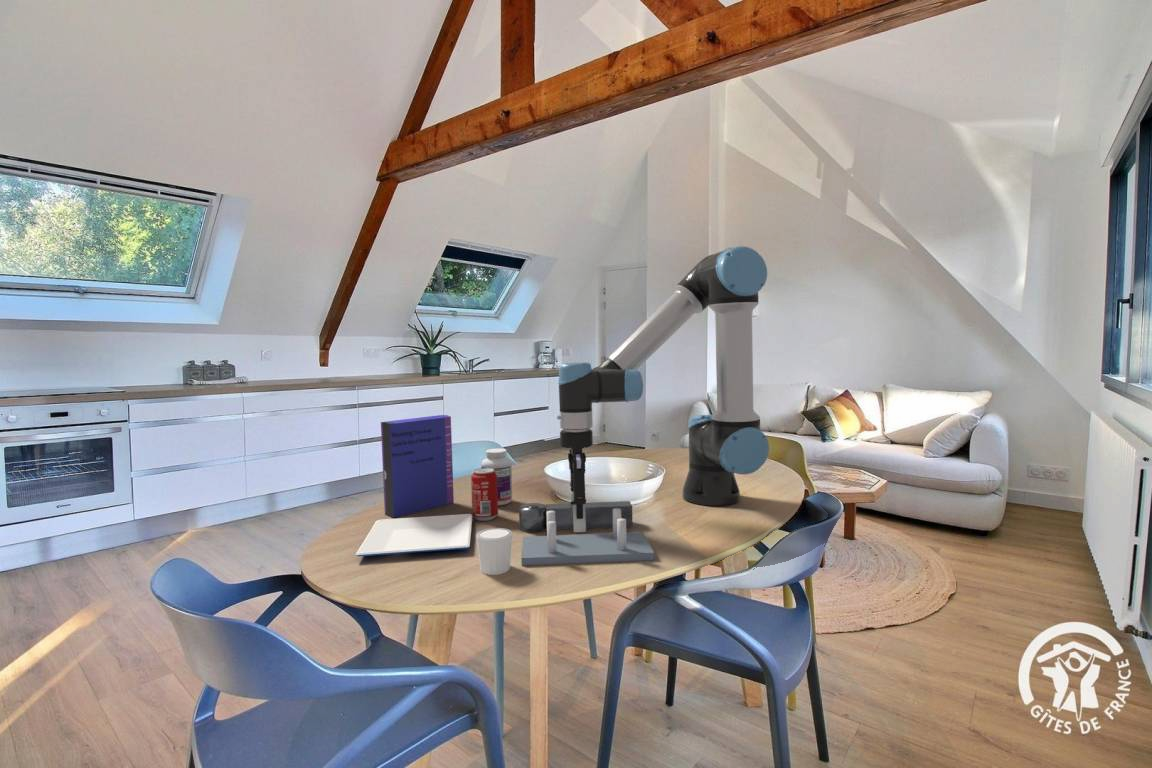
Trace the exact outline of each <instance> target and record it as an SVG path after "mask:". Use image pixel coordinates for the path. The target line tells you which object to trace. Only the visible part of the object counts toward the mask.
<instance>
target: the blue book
mask: <svg viewBox="0 0 1152 768" xmlns="http://www.w3.org/2000/svg"><path fill="white" fill-rule="evenodd" d="M380 432H381V433H380V434H381V455H382V457H381V458H382V461H381V462H382V479H383V480H382V483H383V501H384V515H385V516H388V517H390V518H391V519H398V518H402V517H405V516H409V515H413V514H417V513H420V512H425V511H428V510H434V509H436V508H442V507H444V506H449V505H452V504H455V502H454V498H455V497H454V471H453V468H454V466H453V444H452V442H453V441H452V439H453V437H452V417H451V416H450V415H448V414H440V415H439V414H438V415H431V416H430V415H429V416H421V417H413V418H406V419H405V418H404V419H396V420H395V419H394V420H389V421H381V422H380Z"/></svg>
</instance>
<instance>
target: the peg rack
mask: <svg viewBox="0 0 1152 768" xmlns="http://www.w3.org/2000/svg"><path fill="white" fill-rule="evenodd" d="M520 558H521V559H520V562H521V566H541V565H542V566H543V565H544V566H546V565H567V564H568V565H569V564H588V563H589V564H590V563H591V564H592V563H615V562H616V563H617V562H635V561H636V562H640V561H655V551H654V549H653V548H652V546H651V544H650V542H649V540H648V539H647V537H646V535H645V533H644V532H643V531H640V532H639V531H635V532H634V531H633V532H627V527H626V519H623V518H621V509H620V508H614V509H613V528H612V533H590V534H589V533H584V534H581V533H580V534H561V535H560V534H559V535H557V530H556V522H555V511H547V530H546V535H537V536H534V535H532V536H523V537H522V547H521V557H520Z"/></svg>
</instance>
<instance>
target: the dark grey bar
mask: <svg viewBox="0 0 1152 768" xmlns="http://www.w3.org/2000/svg"><path fill="white" fill-rule="evenodd" d="M614 508H620V509H621V518H623V519H626V528H633V504H632V503H631V501H629V500H623V501H619V500H618V501H596V502H595V501H593V502H586V503H585V517H586V530H587V529H588V530H591V529H613V509H614ZM518 511H519V512H518V514H519V515H518V519H519V521H518V522H519V530H520V532H521V531H522V532H524V533H540V532H544V531H545V530H546V531H547V511H555V522H556V531H560V530H561V531H562V530H564V531H565V530H566V531H567V530H568V531H569V530H574V523H573V505H571V502H567V503H546V504H545V503H539V502H532V503H531V502H529V503H524V504H521V505H520V506H518Z"/></svg>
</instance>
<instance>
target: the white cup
mask: <svg viewBox="0 0 1152 768" xmlns="http://www.w3.org/2000/svg"><path fill="white" fill-rule="evenodd" d="M475 537H476V538H475V539H476V545H477V546H476V547H477V554H478V562H479V569H480V572H481V574H484V575H487V574H488V575H489V576H498V575H502V574H505V573H507V572H509V571H510V569H511V557H512V556H511V555H512V541H513V531H512V530H510V529H508V528H504V527H502V528H501V527H491V528H485V529H482V530H480V531H477V533H476V535H475ZM488 575H487V576H488Z"/></svg>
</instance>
